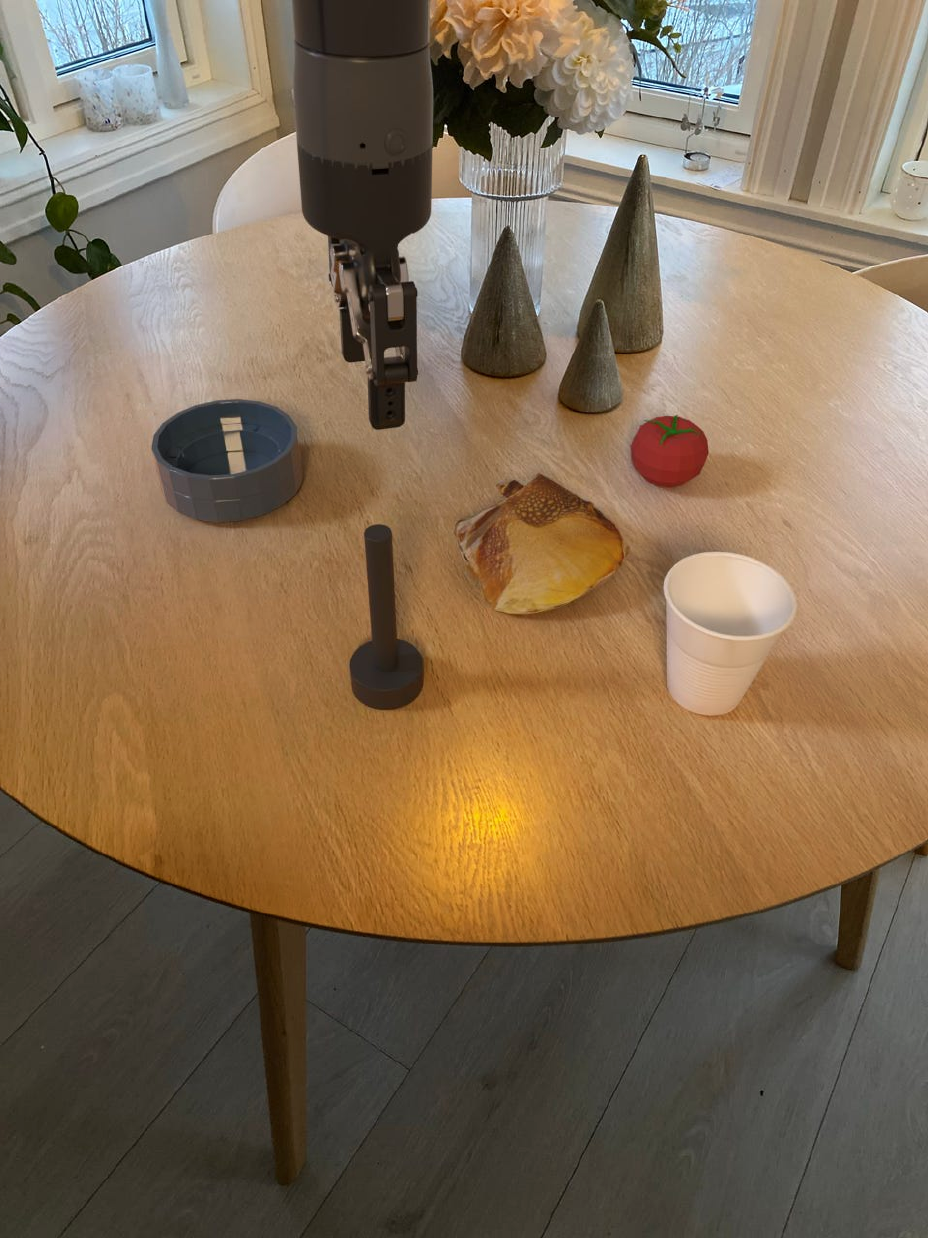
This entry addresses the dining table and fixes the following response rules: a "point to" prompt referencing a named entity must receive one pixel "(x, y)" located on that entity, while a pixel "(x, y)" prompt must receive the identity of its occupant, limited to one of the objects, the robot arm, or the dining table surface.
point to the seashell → (539, 547)
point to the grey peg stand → (384, 636)
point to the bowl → (228, 460)
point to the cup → (721, 627)
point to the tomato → (669, 451)
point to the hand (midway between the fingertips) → (372, 391)
